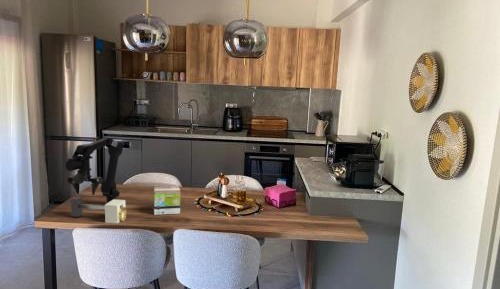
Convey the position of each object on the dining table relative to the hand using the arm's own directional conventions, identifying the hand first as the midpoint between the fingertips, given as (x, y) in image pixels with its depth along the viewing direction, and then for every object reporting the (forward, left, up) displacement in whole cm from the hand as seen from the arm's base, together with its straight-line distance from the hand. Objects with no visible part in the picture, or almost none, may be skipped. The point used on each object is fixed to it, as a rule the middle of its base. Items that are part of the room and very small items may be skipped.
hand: (85, 194), depth 216 cm
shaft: (+6, +5, -11) cm, 14 cm away
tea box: (+8, +44, -13) cm, 47 cm away
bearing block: (+12, +15, -12) cm, 23 cm away
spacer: (+14, +19, -9) cm, 25 cm away
